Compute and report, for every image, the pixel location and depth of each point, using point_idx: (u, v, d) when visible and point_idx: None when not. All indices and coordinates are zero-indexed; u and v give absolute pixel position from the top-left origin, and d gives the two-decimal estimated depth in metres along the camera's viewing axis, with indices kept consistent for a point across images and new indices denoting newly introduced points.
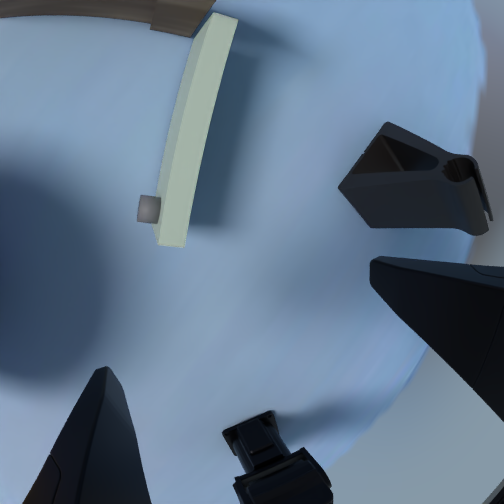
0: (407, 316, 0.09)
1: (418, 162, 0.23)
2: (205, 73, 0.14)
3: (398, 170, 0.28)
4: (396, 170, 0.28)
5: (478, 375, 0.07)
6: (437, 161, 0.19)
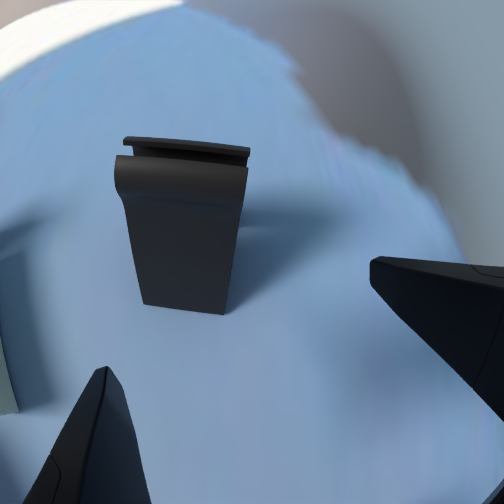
0: (407, 316, 0.09)
1: None
2: None
3: None
4: None
5: (477, 375, 0.07)
6: None
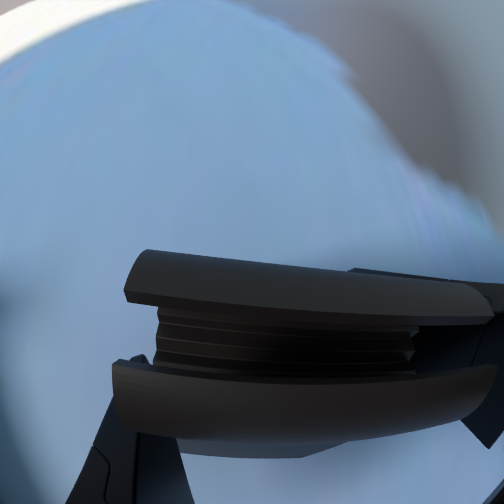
0: None
1: None
2: None
3: None
4: None
5: None
6: None
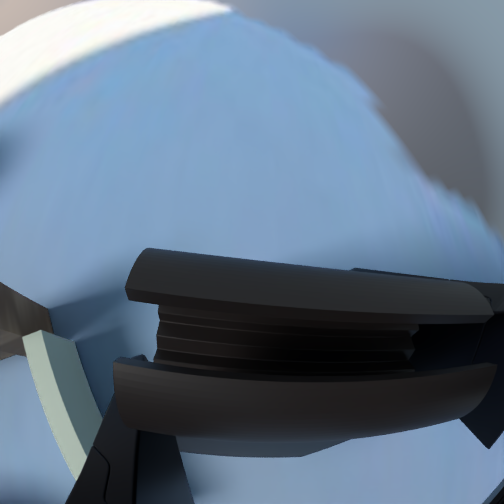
0: None
1: None
2: (48, 400, 0.12)
3: None
4: None
5: None
6: None
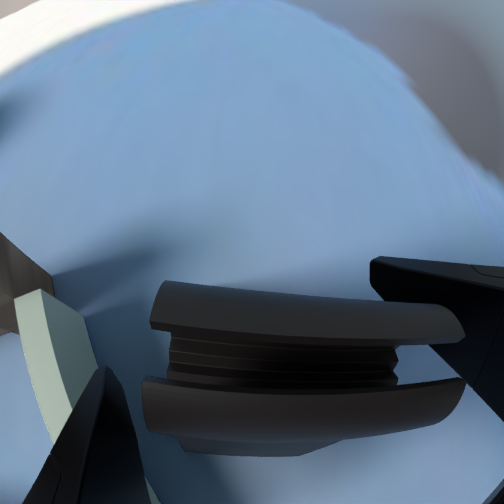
0: None
1: None
2: (44, 388, 0.09)
3: None
4: None
5: (477, 375, 0.07)
6: None
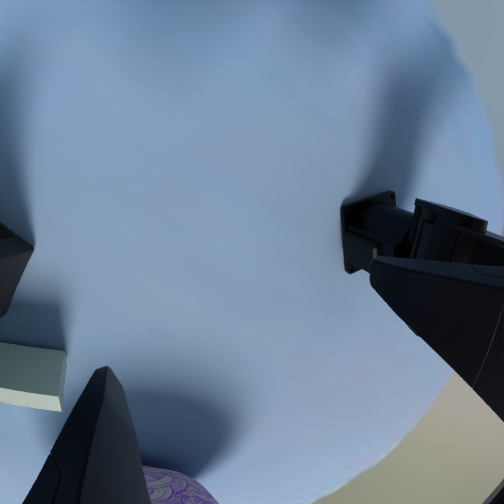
0: (407, 316, 0.09)
1: None
2: None
3: None
4: None
5: (477, 375, 0.07)
6: None
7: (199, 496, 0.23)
